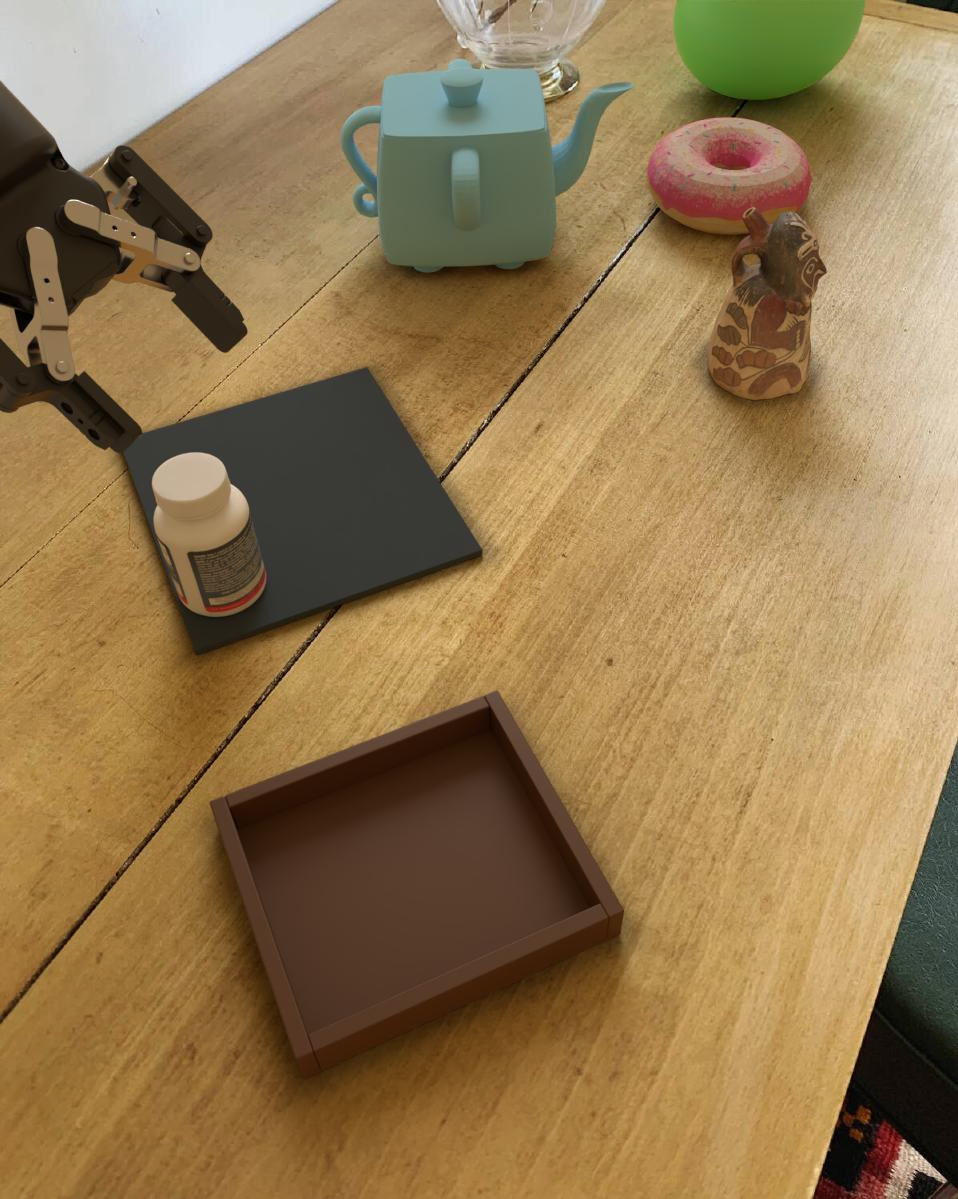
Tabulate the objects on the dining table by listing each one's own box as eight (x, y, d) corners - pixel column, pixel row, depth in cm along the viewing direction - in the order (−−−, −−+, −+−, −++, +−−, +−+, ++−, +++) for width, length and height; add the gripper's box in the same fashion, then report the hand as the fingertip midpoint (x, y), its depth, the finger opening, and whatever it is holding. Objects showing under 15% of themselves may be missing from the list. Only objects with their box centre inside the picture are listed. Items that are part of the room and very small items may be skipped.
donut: (691, 262, 88) (699, 204, 84) (615, 183, 96) (619, 126, 92) (836, 224, 91) (850, 166, 87) (751, 150, 99) (760, 95, 95)
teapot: (453, 325, 83) (445, 154, 73) (325, 238, 92) (302, 72, 81) (624, 234, 91) (638, 68, 81) (491, 161, 99) (489, 1, 89)
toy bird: (762, 149, 99) (793, -29, 88) (623, 88, 108) (635, -81, 96) (880, 82, 107) (922, -89, 96) (741, 31, 115) (765, -132, 104)
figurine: (787, 412, 76) (824, 256, 67) (690, 382, 78) (712, 228, 69) (820, 355, 80) (859, 201, 71) (726, 328, 82) (752, 175, 73)
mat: (196, 655, 63) (194, 650, 63) (120, 445, 75) (118, 439, 75) (483, 555, 68) (482, 549, 67) (367, 371, 80) (367, 366, 80)
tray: (304, 1080, 48) (295, 1060, 46) (219, 826, 56) (208, 800, 54) (620, 934, 52) (624, 910, 50) (498, 716, 60) (497, 689, 58)
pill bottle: (283, 568, 67) (257, 458, 60) (238, 630, 64) (205, 521, 57) (209, 544, 68) (175, 434, 62) (161, 603, 65) (120, 495, 59)
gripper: (-197, 143, 42) (124, 455, 47) (53, 2, 50) (303, 281, 56) (-223, 237, 48) (65, 506, 53) (5, 96, 56) (236, 342, 61)
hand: (187, 391), depth 54 cm, fingers open, 8 cm apart
